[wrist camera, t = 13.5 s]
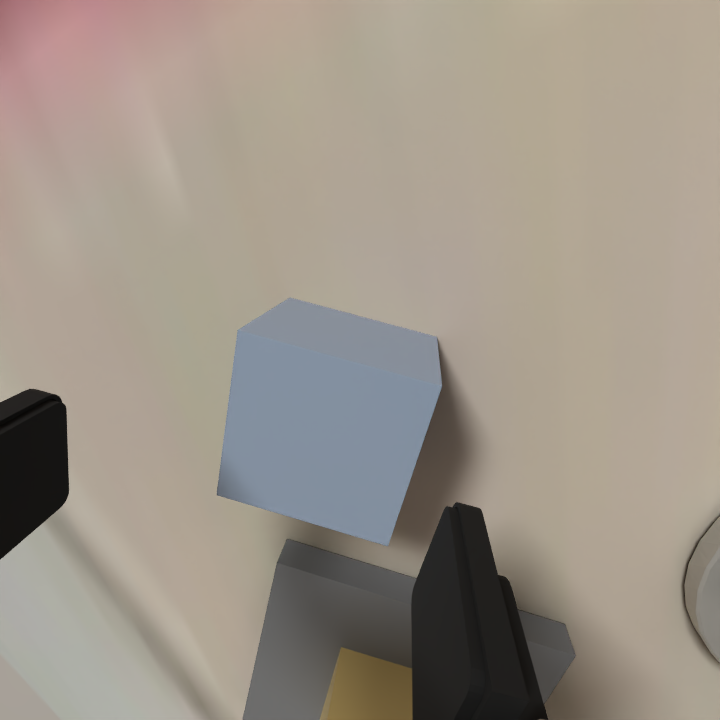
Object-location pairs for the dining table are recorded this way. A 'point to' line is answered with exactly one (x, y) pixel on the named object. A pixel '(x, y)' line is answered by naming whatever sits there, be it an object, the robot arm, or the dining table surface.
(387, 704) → the brick bottom
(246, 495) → the brick top
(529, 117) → the dining table surface
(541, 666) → the base plate
